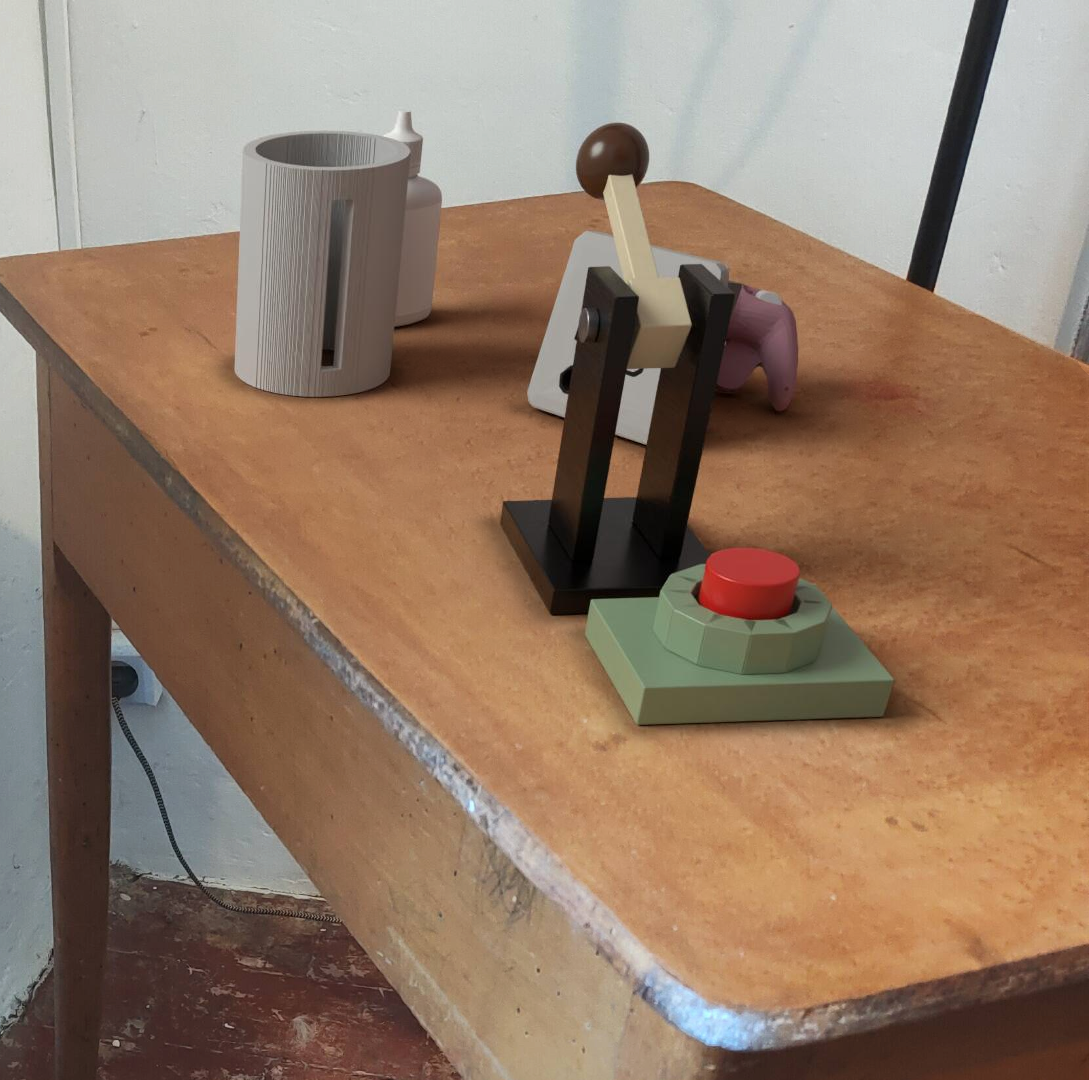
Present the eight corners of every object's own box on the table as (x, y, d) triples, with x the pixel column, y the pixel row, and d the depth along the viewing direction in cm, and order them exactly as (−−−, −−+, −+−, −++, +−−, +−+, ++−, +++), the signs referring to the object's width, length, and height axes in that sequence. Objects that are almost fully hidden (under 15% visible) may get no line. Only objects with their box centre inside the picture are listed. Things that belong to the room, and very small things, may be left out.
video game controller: (780, 420, 100) (799, 290, 98) (797, 409, 95) (817, 273, 94) (602, 411, 101) (618, 283, 100) (611, 400, 97) (628, 266, 95)
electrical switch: (520, 408, 98) (557, 231, 92) (578, 396, 101) (616, 223, 95) (659, 456, 92) (706, 269, 87) (716, 442, 95) (765, 260, 89)
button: (772, 585, 72) (782, 545, 71) (803, 624, 70) (814, 583, 69) (686, 587, 72) (695, 548, 71) (714, 627, 70) (723, 586, 68)
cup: (322, 335, 108) (337, 123, 101) (421, 375, 102) (445, 153, 95) (204, 364, 104) (210, 145, 97) (300, 407, 98) (314, 178, 91)
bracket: (499, 524, 85) (537, 249, 77) (661, 519, 85) (716, 244, 78) (549, 615, 78) (598, 319, 70) (728, 609, 78) (796, 313, 70)
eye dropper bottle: (434, 330, 108) (456, 119, 101) (343, 330, 109) (358, 119, 101) (428, 309, 112) (449, 102, 104) (340, 308, 112) (355, 103, 105)
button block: (811, 627, 76) (831, 551, 74) (883, 717, 70) (908, 637, 68) (584, 634, 76) (597, 559, 74) (636, 725, 70) (652, 645, 68)
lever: (562, 169, 81) (580, 107, 78) (631, 167, 81) (651, 105, 78) (610, 377, 75) (631, 319, 73) (683, 375, 76) (707, 317, 73)
